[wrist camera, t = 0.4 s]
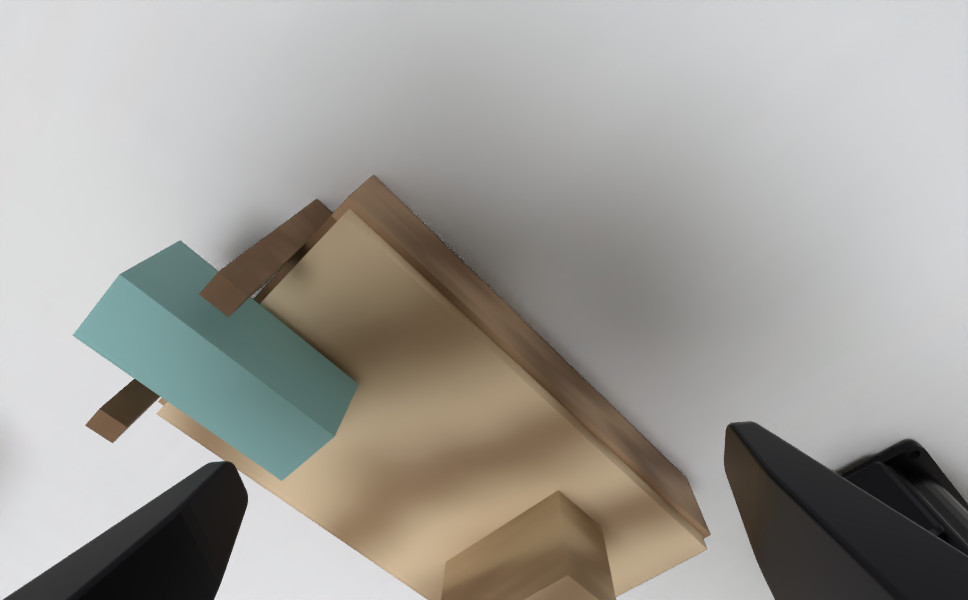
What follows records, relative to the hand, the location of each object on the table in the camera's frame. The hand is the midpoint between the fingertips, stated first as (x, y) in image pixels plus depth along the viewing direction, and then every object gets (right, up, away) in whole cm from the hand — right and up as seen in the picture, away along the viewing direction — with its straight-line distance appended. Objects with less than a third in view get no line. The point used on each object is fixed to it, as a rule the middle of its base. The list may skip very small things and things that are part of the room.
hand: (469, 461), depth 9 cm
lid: (-1, -5, +14) cm, 15 cm away
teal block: (-8, +1, +10) cm, 13 cm away
